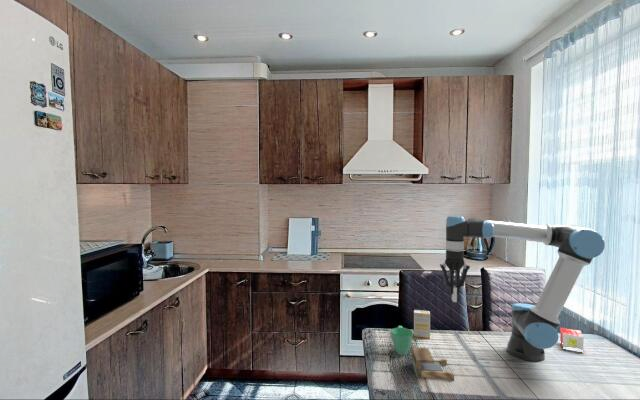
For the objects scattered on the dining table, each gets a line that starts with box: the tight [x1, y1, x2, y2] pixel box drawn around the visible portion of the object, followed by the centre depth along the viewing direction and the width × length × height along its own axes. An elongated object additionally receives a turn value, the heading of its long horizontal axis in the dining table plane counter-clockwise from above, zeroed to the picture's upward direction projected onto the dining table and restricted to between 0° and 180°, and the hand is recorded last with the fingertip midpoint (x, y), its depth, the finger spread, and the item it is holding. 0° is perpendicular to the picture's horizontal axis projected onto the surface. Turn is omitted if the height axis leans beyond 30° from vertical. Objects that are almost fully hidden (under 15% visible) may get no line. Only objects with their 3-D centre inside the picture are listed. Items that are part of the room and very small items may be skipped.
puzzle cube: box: [559, 327, 585, 351], centre depth 161 cm, size 8×8×8 cm
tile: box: [421, 362, 444, 371], centre depth 140 cm, size 9×7×3 cm
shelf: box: [411, 347, 455, 382], centre depth 140 cm, size 15×13×7 cm
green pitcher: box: [391, 325, 414, 356], centre depth 159 cm, size 15×10×10 cm
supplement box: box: [413, 309, 431, 339], centre depth 174 cm, size 8×5×13 cm, turn 71°
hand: (454, 301), depth 151 cm, fingers closed
